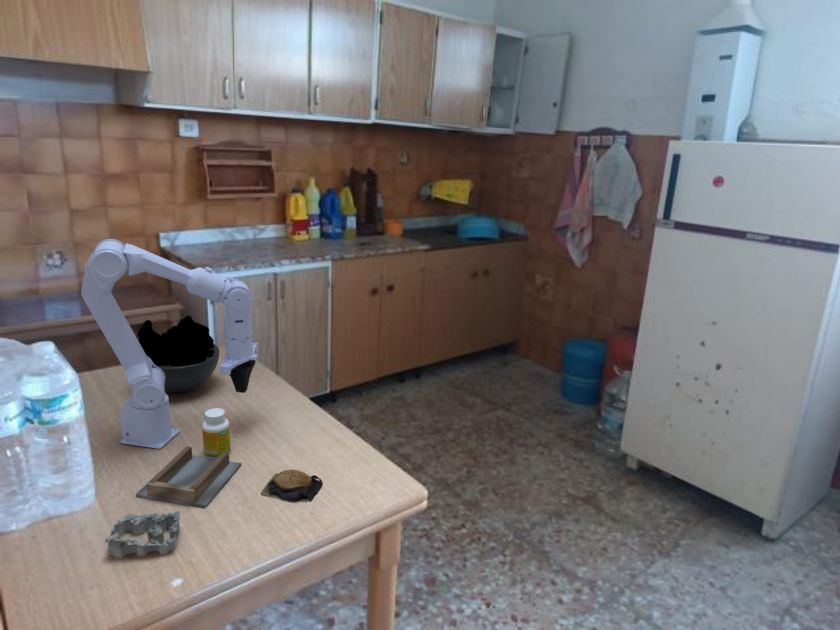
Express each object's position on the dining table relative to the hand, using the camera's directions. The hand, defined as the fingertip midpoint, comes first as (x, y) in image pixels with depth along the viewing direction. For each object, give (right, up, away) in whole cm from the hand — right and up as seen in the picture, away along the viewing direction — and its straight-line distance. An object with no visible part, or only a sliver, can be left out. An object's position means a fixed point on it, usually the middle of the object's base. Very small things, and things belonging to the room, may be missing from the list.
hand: (241, 391), depth 132 cm
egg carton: (-5, -21, -35) cm, 41 cm away
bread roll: (+16, -17, -18) cm, 30 cm away
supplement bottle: (-3, -12, -8) cm, 15 cm away
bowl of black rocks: (-22, -2, +19) cm, 29 cm away
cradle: (-4, -15, -18) cm, 24 cm away
